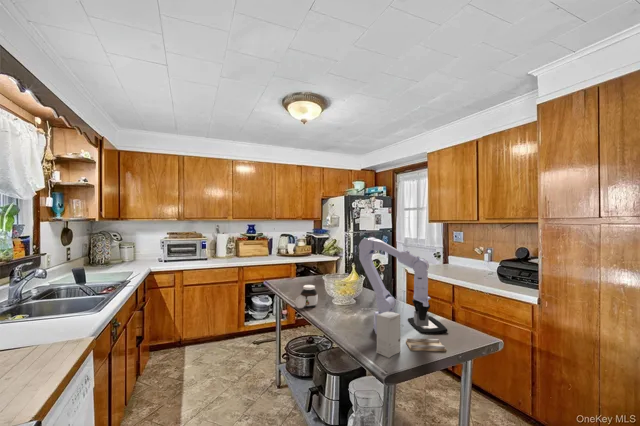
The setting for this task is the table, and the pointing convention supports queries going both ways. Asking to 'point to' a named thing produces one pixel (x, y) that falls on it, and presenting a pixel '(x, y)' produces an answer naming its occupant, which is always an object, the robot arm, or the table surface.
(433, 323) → the black picture frame
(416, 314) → the module
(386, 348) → the skincare box
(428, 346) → the rail board
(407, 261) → the robot arm
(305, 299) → the spread jar
